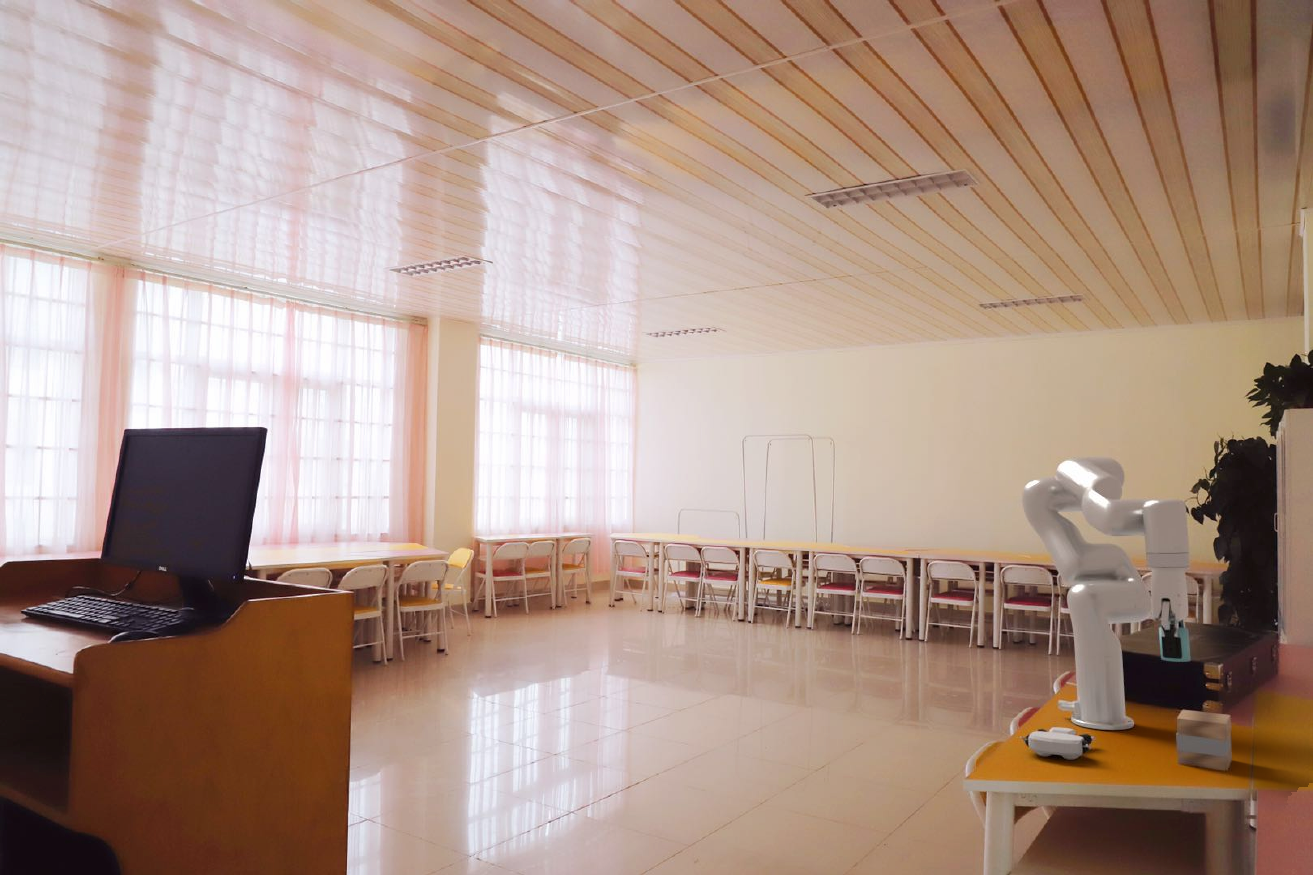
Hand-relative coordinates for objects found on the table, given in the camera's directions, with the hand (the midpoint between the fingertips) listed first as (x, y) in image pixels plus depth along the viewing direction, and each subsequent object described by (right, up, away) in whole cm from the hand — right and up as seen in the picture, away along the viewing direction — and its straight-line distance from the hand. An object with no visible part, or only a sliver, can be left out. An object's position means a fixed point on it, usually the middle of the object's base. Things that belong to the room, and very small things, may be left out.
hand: (1175, 654), depth 175 cm
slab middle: (+4, -17, -3) cm, 18 cm away
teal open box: (0, -1, 0) cm, 1 cm away
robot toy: (-20, -21, +5) cm, 30 cm away
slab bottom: (+4, -20, -3) cm, 21 cm away
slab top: (+4, -14, -3) cm, 15 cm away
